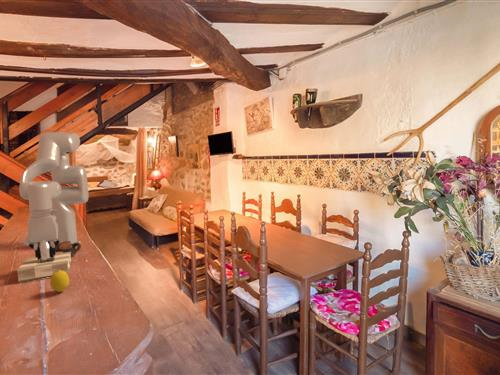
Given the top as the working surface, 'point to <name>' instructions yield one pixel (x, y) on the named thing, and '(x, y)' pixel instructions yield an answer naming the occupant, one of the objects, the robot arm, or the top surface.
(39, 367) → the top surface
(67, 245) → the pottery mug
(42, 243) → the pin
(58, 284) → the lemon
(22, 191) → the robot arm
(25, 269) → the bore block
